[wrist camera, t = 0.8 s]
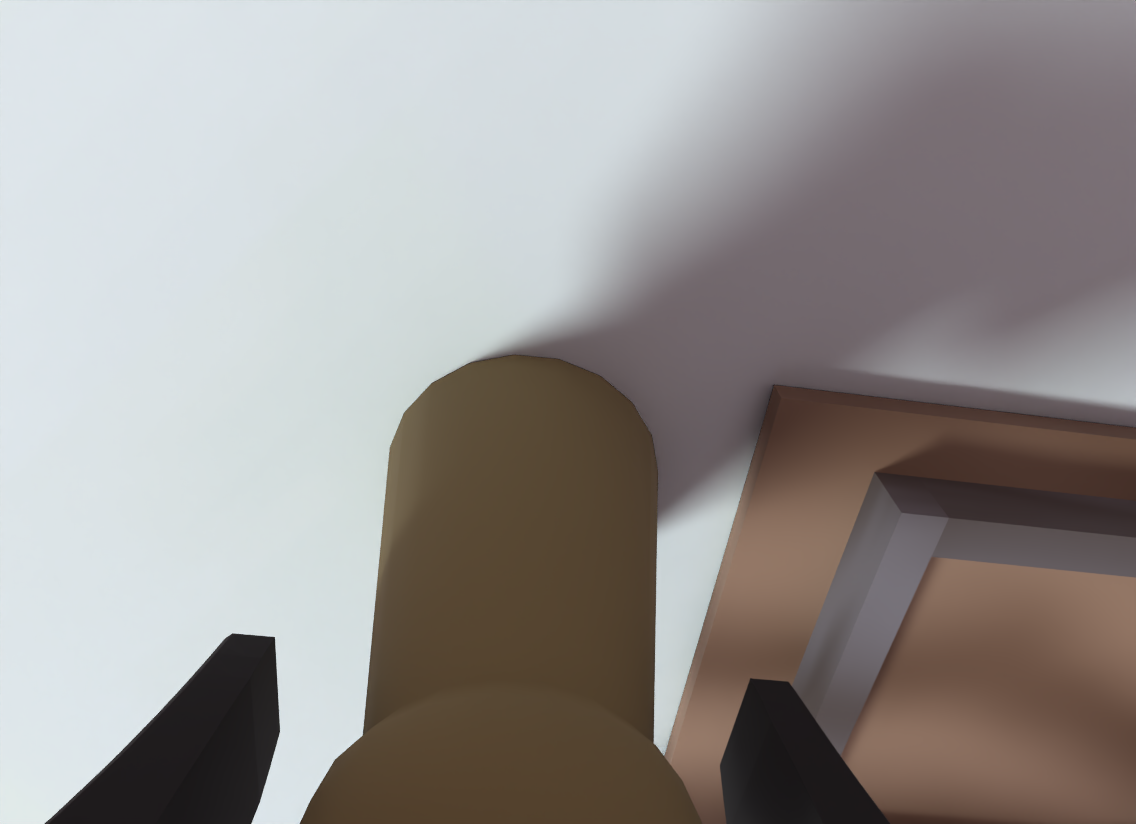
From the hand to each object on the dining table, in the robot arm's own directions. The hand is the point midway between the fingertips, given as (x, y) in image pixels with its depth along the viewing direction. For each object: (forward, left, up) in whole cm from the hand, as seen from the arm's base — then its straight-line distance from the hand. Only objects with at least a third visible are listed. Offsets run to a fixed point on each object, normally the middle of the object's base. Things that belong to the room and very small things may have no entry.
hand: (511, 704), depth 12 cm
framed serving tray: (-5, -14, -6) cm, 16 cm away
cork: (0, 0, -7) cm, 7 cm away
